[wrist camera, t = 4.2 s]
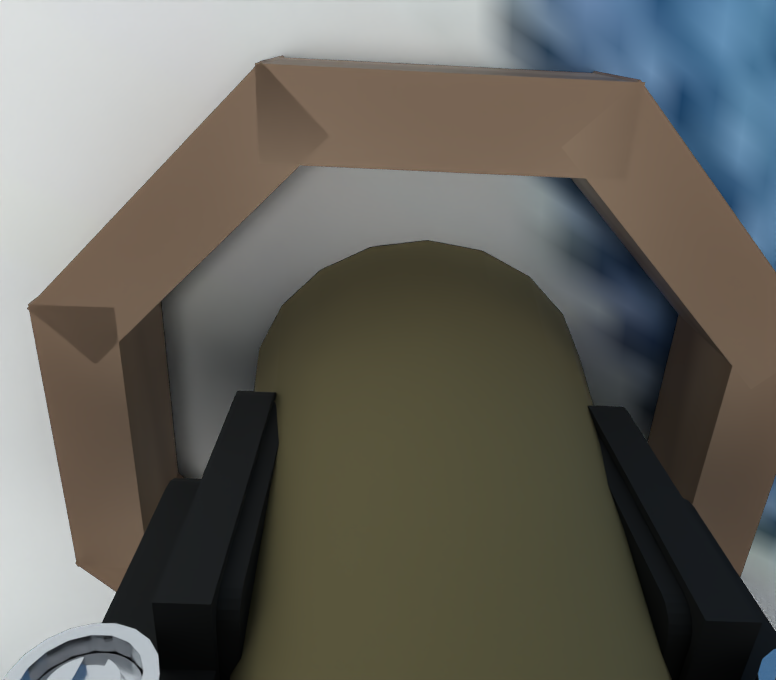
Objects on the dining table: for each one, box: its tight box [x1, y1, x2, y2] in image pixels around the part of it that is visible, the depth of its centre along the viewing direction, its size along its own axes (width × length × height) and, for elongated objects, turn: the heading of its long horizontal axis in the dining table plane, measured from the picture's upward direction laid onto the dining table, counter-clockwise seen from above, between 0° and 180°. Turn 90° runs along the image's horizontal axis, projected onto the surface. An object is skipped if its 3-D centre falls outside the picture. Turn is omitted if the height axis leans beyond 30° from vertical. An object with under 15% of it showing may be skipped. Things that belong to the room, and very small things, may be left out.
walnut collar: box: [27, 56, 776, 592], centre depth 12 cm, size 11×12×2 cm
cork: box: [230, 241, 672, 680], centre depth 7 cm, size 6×6×11 cm
